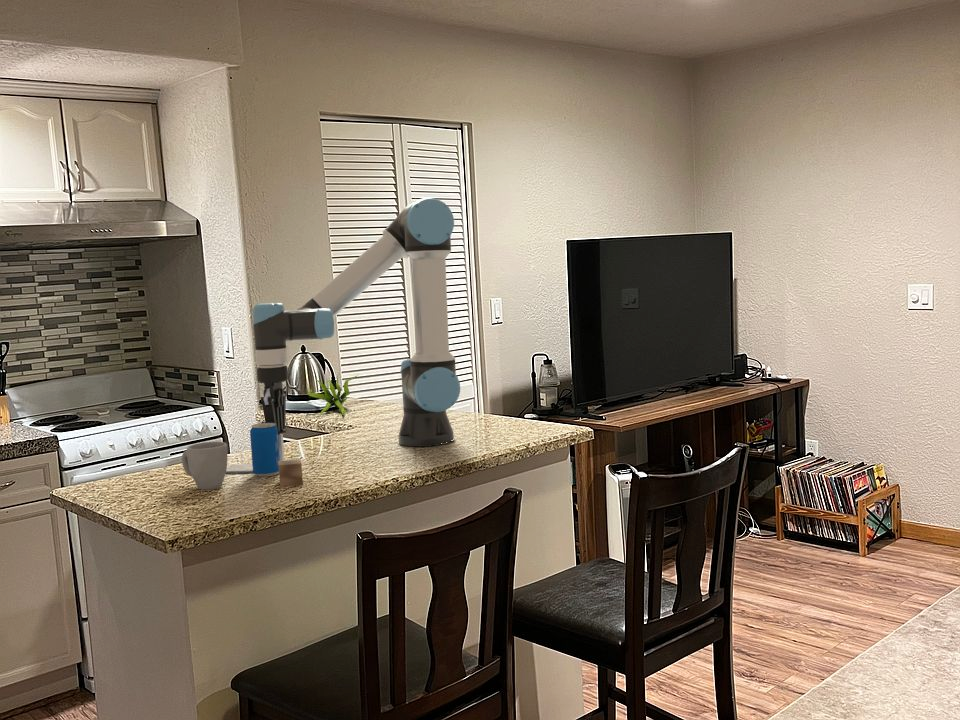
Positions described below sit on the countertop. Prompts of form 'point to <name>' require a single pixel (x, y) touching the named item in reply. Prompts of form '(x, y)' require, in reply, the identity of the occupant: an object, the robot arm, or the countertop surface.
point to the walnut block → (290, 472)
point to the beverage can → (265, 449)
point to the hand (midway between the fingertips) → (278, 459)
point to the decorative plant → (329, 396)
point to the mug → (206, 464)
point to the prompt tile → (240, 469)
